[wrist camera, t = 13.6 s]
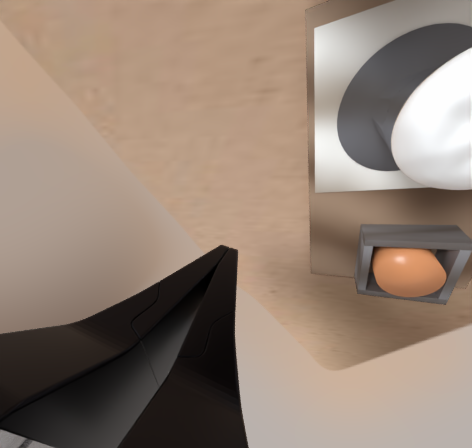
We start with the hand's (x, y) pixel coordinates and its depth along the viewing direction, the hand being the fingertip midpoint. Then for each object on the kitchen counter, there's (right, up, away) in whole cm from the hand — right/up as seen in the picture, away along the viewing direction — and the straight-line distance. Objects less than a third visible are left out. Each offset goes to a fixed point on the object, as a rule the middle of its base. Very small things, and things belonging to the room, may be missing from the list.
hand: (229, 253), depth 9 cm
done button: (+15, -1, +9) cm, 18 cm away
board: (+13, +5, +6) cm, 15 cm away
